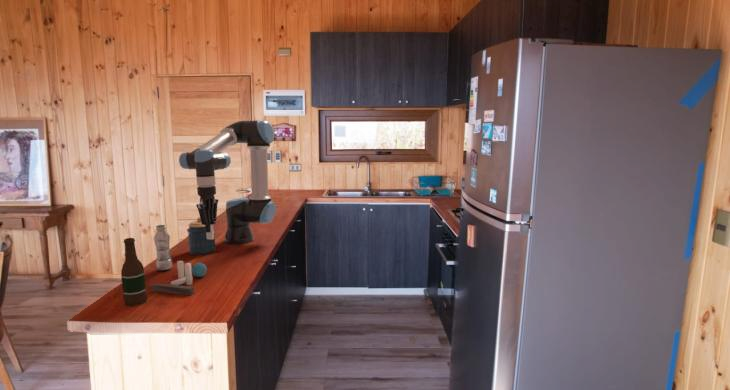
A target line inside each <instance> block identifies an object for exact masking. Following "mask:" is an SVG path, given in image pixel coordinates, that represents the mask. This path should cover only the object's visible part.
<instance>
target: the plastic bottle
mask: <svg viewBox="0 0 730 390" xmlns="http://www.w3.org/2000/svg"><path fill="white" fill-rule="evenodd" d="M155 230H156V233H155V234H154V237H153V240H154V245H155V250H156V264H155V265H156V269H157V270H159V271H167V270H170V269H172V267H173V260H172V257H171V252H170V239H171V238H170V237H171V236H170V235H169V233H168V232H167V231H166V225H165V224H159V225H156V227H155Z"/></svg>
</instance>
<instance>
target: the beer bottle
mask: <svg viewBox="0 0 730 390" xmlns="http://www.w3.org/2000/svg"><path fill="white" fill-rule="evenodd" d="M135 241H136V240H135V238H134V237H127V238H125V239H124V240H123V243H124V257H125V258H124V262H123V264H122V268H121V270H120V271H121V286H122V295H123V300H124V301H123V302H124V305H125V306H129V307H134V306H140V305H143V304H145V303H147V288H146V287H147V285H146V276H145V269H144V265H143V263H142V262H141V260H140V259H139V258H138V255H137V251H136V250H137V249H136V245H135Z"/></svg>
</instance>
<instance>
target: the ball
mask: <svg viewBox="0 0 730 390" xmlns="http://www.w3.org/2000/svg"><path fill="white" fill-rule="evenodd" d="M207 269H208V268H207V266H206V264H204V263H203V262H197V263H195V264H194V265H193V266H191V272H192V276H194V277H197V278H201V277H204V276H205V275H206V274H207V271H208V270H207Z"/></svg>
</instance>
